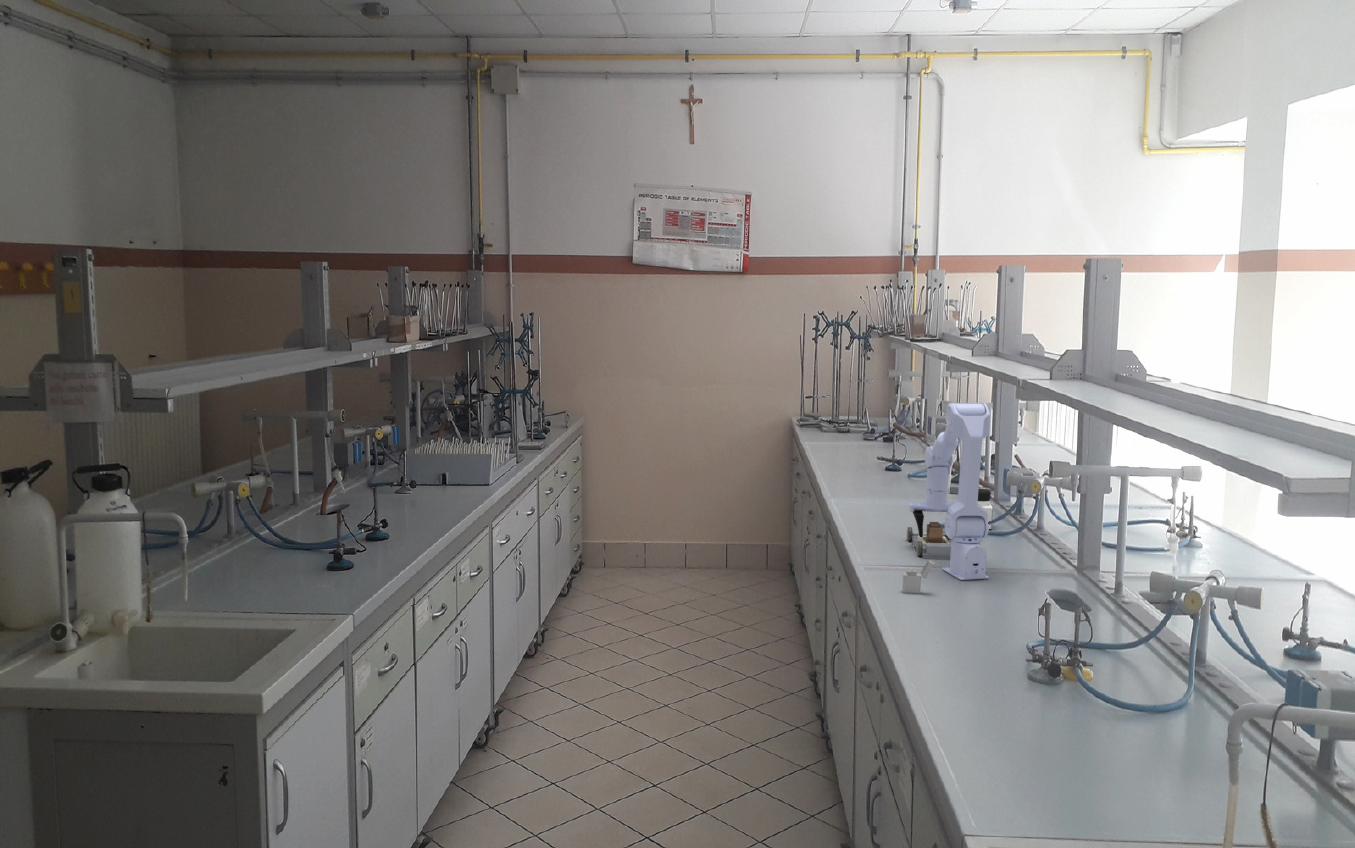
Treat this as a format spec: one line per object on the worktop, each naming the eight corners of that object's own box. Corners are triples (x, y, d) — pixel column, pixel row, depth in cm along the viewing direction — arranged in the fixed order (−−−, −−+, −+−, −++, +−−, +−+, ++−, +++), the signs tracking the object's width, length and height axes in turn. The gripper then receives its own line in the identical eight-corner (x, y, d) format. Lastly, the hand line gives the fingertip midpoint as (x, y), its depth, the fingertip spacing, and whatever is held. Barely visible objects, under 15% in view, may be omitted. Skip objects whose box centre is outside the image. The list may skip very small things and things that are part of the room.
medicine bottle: (991, 530, 295) (994, 491, 293) (967, 528, 296) (969, 490, 294) (989, 524, 301) (991, 487, 300) (965, 523, 303) (967, 486, 301)
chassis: (964, 559, 261) (964, 545, 261) (919, 558, 262) (920, 544, 262) (947, 539, 283) (947, 525, 283) (905, 537, 284) (906, 524, 283)
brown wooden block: (941, 547, 270) (943, 525, 270) (928, 546, 271) (930, 524, 270) (938, 543, 275) (939, 521, 274) (925, 542, 275) (927, 521, 274)
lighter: (902, 592, 232) (904, 560, 231) (902, 590, 234) (903, 558, 233) (933, 593, 232) (934, 561, 231) (931, 591, 233) (933, 559, 232)
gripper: (959, 487, 274) (957, 533, 276) (908, 486, 275) (906, 532, 277) (965, 492, 267) (962, 540, 269) (912, 491, 268) (910, 538, 270)
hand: (934, 536), depth 272 cm, fingers open, 7 cm apart
